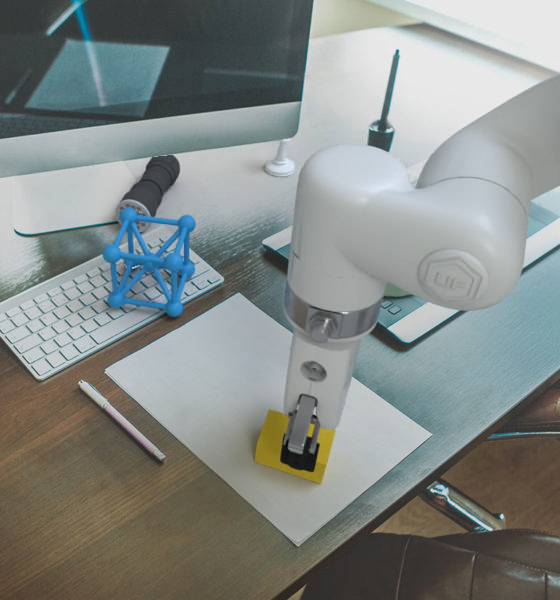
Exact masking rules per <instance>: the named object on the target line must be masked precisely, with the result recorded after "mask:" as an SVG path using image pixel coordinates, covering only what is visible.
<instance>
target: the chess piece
mask: <svg viewBox="0 0 560 600" xmlns="http://www.w3.org/2000/svg"><path fill="white" fill-rule="evenodd" d="M277 141H278V142H279V145H278V149H277V153H276V156H275V157H272V158H270V159H268V160H267V161H266V162H265V165H264V170H265V172H266V173H267V174H269V175H271V176H273V177H279V178H281V177H284V178H285V177H287V176H288V177H289V176H291V175H293V174H294V173H295V171H296V165H295V162H294V161H293V160H291V159H289V158H288V157H287V143H288V142H290V141H291V137H290V138H289V139H284V140H277Z"/></svg>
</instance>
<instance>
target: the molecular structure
mask: <svg viewBox="0 0 560 600" xmlns="http://www.w3.org/2000/svg"><path fill="white" fill-rule="evenodd" d="M120 220H121V222H122V223H123V224H122V226H121V225H120V228H119V230H118V232H117V235H116V237H115V239H114V241H113V243H112V244H111V243H110V244H108V245H106V246H105V247H104V248H103V249H102V253H101V254H102V259H103V260H104V261H105V262H107V263H108V264H109V269H110V277H111V287H112V291H111V292H110V293H109V294H108V296H107V304H108V303H109V304H108V305H109V306H110V305H111V306H112V307H114V308H113V309H120V308H119V307H121V306H122V307H123V306H124V305H125V304H126V305H132V306H139V307H145V308H151V309H159V310H165V313H166V314H167V315H168V316H169V317H171V318H178V317H180V316H181V315H182V314H183V312H184V304H183V302H182V301H181V298H182V294H183V291H184V289H185V288H184V287H185V284H186V281H187V279H188V278H187V277H189V278H191V277H193V276H194V274H195V273H196V267H195V266H196V265H194V263H193V262H191V261H190V233H192V232H193V231H194V230H195V228H196V225H197V223H196V220H195V218H194V217H193V216H192V215H189V214H184V215H181V216H180V217H179V219H173V218H164V217H156V216H155V217H149V216H141V215H137V213H136V211H135V210H134V209H132V208H125V209H124V210H122V212H121V213H120ZM136 221H143V222H151V223H152V224H160V225H168V226H176V227H177V228H178V229H177V230H176V231H175V232H173V234H172V235H171V236H170V237H169V238H168V239H167V241H166V242H164V243H163V245H162V246H161V247H160V248H159V249H158V250H157V251H155V253H153V252H150V250H149V248H148V246H147V245H146V242H145V240H144V238H143V236H142V234H141V232H139V230H138V228H137V226H136V224H135V223H136ZM151 223H150V224H151ZM125 233H126V236H127V251H128V252H122V250H121V248H120V244H121V242H122V240H123V238H124V235H125ZM134 237H135V238H136V241H137V243H138V245H139V247H140V248H141V251H142V253H143V254H139V253H135V248H134V247H135V246H134ZM176 240H177V242H176V245H175V248H174V251H173V252H170V253H169V252H168V253H167V255H166V256H165V257H161V256H162V255H164V253H165V252H166V251H167V250H168V249H169V248H170V247H171V246H172V245H173V244H174V243H175V241H176ZM182 249H183V257H182V255H181V251H182ZM120 260H123V265H124V264H126V265H127V268H126V267H125V271H124V273H123V275H122V278H121V280H120V283H119V281H118V271H117V263H118V262H119V261H120ZM138 265H143V266H141V269H139V270H138V272H137V273H136V274H135V275H134V276H133V277H132V278H131V279H130V280H129V277H130V275H131V273H132V270H131V269H132V267H135V266H138ZM159 269H161V270H167V271H168V272H170V290H169V288H168V286H167V284H166V282H165V281H164V278H163V276H162V274H161V272H160V270H159ZM148 271H149V272H152V273H153V275H154V277H155V279H156V281H157V283H158V285H159V287H160V290H161V291H162V293H163V295H164V297H165V299H166V303H161V302H155V301H148V300H142V299H135V298H128V297H126V294H127V293H128V292H129V291H130V290H131V289H132V288H133V287H134V286H135V284H137V282H138V281H139V280H140V279H141V278H142V277H143V276H144V275H145V274H146V273H147V272H148ZM130 272H131V273H130ZM178 274H179V276H180V275H181V276H180V280H179V282H178ZM127 279H128V280H129V282H128V280H127ZM111 306H110V307H111ZM112 307H111V308H112ZM122 307H121V308H122Z"/></svg>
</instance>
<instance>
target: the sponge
mask: <svg viewBox="0 0 560 600" xmlns="http://www.w3.org/2000/svg"><path fill="white" fill-rule="evenodd" d="M289 417H290V416H289ZM289 417H287V416H286V414H285V413H283V412H279V411H278V410H277V411H276V410H273V409H271V408H270V409H268V411H267V414H266V417H265V419H264V422H263V425H262V427H261V431H260V433H259V435H258V438H257V440H256V447H255V453H254V459H253V460H254V463H257V464H260V465H264V466H266V467H269V468H272V469H274V470H275V469H276V470H278V471H281V472H283V473H284V472H285V473H287V474H290V475H293V476H296V477H299V478H302V479H304V480H308V481H311V482H314V483H317V484H319V485H321V484H322V482H323V479H324V475H325V472H326V469H327V465H328V461H329V458H330V454H331V449H332V446H333V443H334V438H335V434H336V431H337V430H336V428H335V429H334V430H329V429H324V428H322V427H321V429H320V433H319V437H318V441H317V442H318V443H319V444H320V446H319V451H318V456H317V461H316V466H315V470H314V472H308V471H305V470H296V469H293V468H291V467H289V466H288V465H286V464H283V463H281V462H280V456H281V449H282V442H283V436H284V433H286V430H287V426H288V422H289ZM313 430H314V424H311V423H310V426H309V430H308V434H307V436H309V437H312V434H313Z"/></svg>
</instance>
